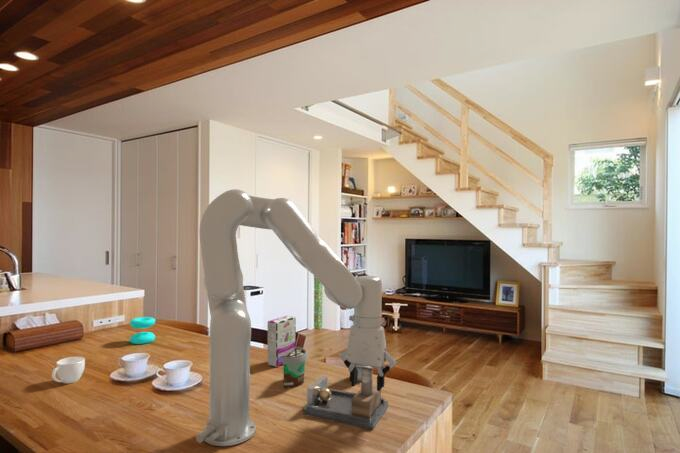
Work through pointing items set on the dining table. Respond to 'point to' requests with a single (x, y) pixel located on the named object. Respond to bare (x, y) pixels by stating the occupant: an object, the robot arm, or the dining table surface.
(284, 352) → the candy bar box
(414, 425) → the dining table surface
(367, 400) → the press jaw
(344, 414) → the grey tray
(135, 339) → the donuts
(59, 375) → the cup
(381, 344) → the robot arm
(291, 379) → the food container
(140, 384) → the dining table surface
